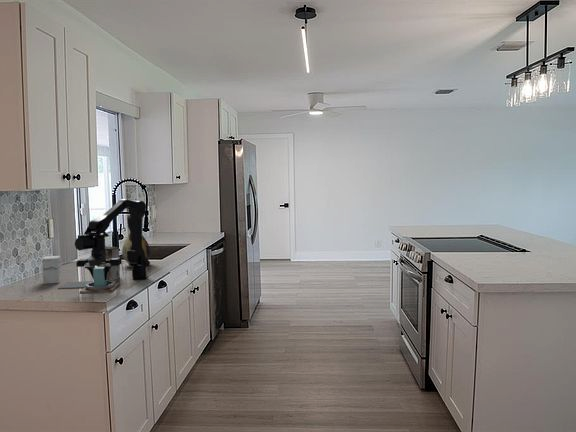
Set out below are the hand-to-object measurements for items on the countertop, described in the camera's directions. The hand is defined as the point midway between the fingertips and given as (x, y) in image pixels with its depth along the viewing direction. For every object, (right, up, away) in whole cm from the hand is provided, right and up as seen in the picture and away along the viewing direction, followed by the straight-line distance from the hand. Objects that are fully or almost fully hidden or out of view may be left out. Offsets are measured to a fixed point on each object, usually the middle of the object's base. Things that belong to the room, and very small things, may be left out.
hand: (100, 280), depth 213 cm
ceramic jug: (-1, +1, +53) cm, 53 cm away
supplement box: (-30, -3, +15) cm, 34 cm away
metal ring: (0, -4, 0) cm, 4 cm away
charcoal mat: (-15, -3, +8) cm, 17 cm away
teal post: (0, -4, 0) cm, 4 cm away
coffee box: (-4, -2, +22) cm, 23 cm away
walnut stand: (0, -4, 0) cm, 4 cm away
